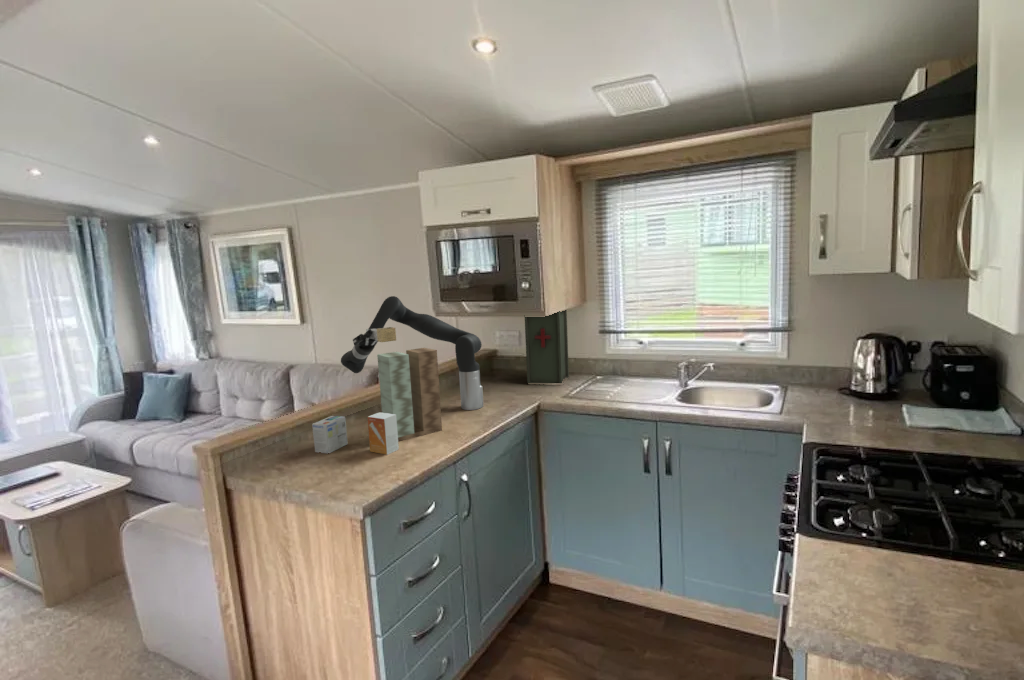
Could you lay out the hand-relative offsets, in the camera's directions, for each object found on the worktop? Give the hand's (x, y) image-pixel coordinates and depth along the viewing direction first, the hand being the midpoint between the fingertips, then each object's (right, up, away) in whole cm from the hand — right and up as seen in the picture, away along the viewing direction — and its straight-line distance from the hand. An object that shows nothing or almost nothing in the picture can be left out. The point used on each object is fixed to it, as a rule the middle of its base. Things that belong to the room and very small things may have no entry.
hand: (375, 330), depth 219 cm
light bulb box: (-10, -43, -22) cm, 50 cm away
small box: (+10, -43, -28) cm, 53 cm away
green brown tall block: (+17, -40, -9) cm, 45 cm away
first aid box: (+75, -26, +71) cm, 107 cm away
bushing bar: (+2, -3, -2) cm, 5 cm away
